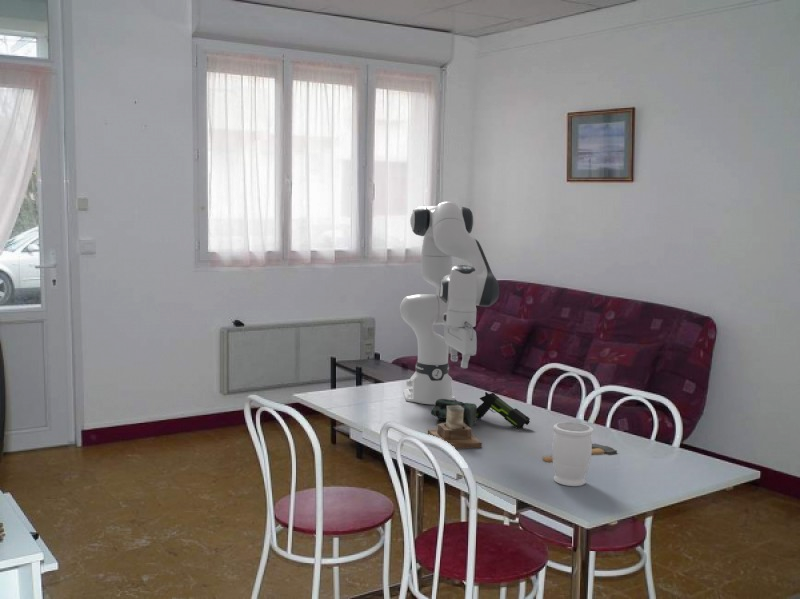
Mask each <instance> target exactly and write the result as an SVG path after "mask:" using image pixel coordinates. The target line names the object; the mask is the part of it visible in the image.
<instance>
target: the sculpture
mask: <svg viewBox="0 0 800 599" xmlns="http://www.w3.org/2000/svg"><path fill="white" fill-rule="evenodd" d="M453 405H460V406H461V407H462V408H464V413H463V423H465V424H466V425H467V426H470V425H471V426H473V425H475V424H476V423H477V418H476V410H477V404H476V403H470V402H463V401H460V400H459V401H458V400H448V399H438V400H437V401H436V403H435V404H434V406H433V407H432V408H431V411H430V415H432V416H433V417H437V419H438V420H440V421H444V420H445V421H446V417H447V406H453Z"/></svg>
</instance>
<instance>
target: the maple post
mask: <svg viewBox="0 0 800 599" xmlns="http://www.w3.org/2000/svg"><path fill="white" fill-rule="evenodd" d="M463 413H464V408H462V407H461V406H460V405H453V406H447V417H446V419H445V423H446V427H447V428H448V429H463V423H464V422H463Z"/></svg>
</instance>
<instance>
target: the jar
mask: <svg viewBox="0 0 800 599" xmlns="http://www.w3.org/2000/svg"><path fill="white" fill-rule="evenodd" d="M552 428H553V430H554V433H553V438H552V442H551V456H552V457H553V462H552V467H553V469H554V473H555V475H554V477H553V480H554V482H556V483H558V484H560V485H562V486H566V487H581V486H584V485H585V484H586V481H587V480H586V479H585V476H586V474H587V473H588V470H589V466H590V462H591V459H592V458H591V457H592V455H591V453H592V444H593V443H592V434H593V433H594V428H593V427H592V426H590V425H588V424H584V423H581V422H574V421H573V422H571V421H560V422H556V423H554V424H553V427H552Z"/></svg>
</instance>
